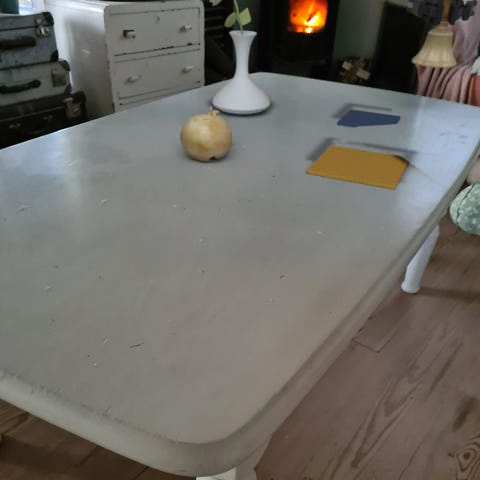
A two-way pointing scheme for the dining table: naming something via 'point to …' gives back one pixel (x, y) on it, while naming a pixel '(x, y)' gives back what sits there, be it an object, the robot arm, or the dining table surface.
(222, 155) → the onion
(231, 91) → the flower in vase
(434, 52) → the hand bell
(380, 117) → the blue mat
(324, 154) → the ochre mat
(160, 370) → the dining table surface
